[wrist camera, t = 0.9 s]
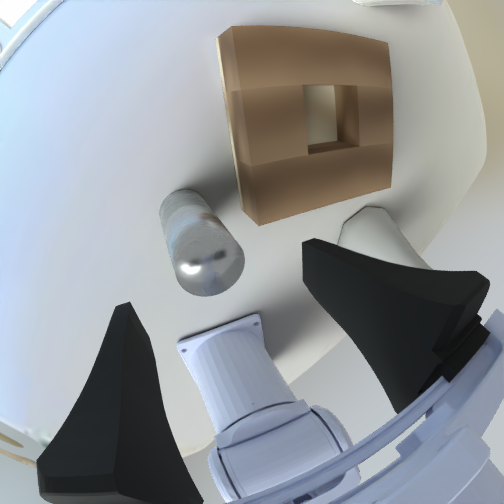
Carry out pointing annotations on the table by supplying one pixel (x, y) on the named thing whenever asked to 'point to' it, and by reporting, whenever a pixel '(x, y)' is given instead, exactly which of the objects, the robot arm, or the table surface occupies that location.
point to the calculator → (20, 22)
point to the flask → (379, 238)
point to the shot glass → (396, 2)
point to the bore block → (305, 117)
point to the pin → (199, 245)
